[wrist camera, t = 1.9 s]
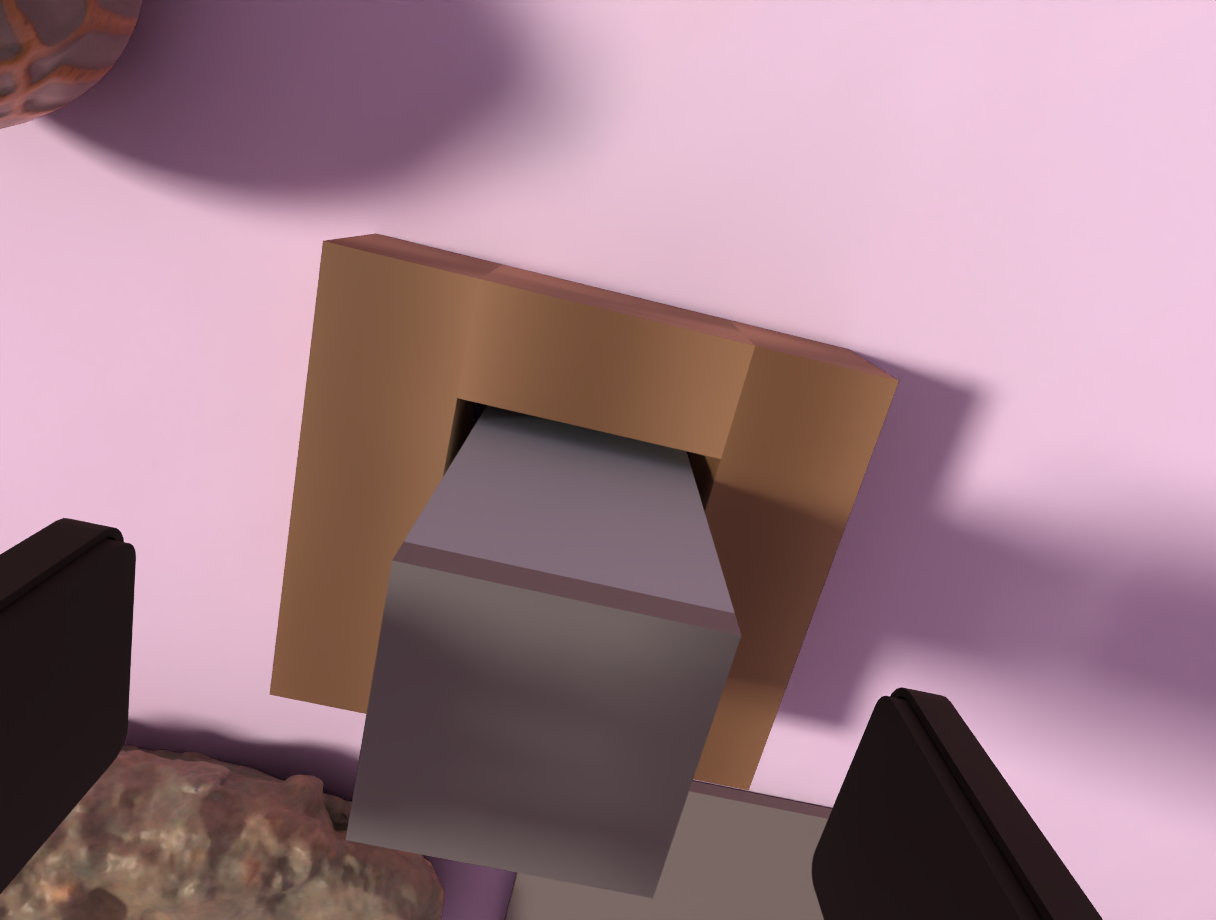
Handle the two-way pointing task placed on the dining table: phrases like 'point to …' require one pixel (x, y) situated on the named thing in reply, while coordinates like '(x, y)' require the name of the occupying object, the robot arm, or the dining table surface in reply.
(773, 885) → the coaster
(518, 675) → the plug
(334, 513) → the socket block
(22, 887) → the brown bread loaf
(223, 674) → the dining table surface
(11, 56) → the vase
